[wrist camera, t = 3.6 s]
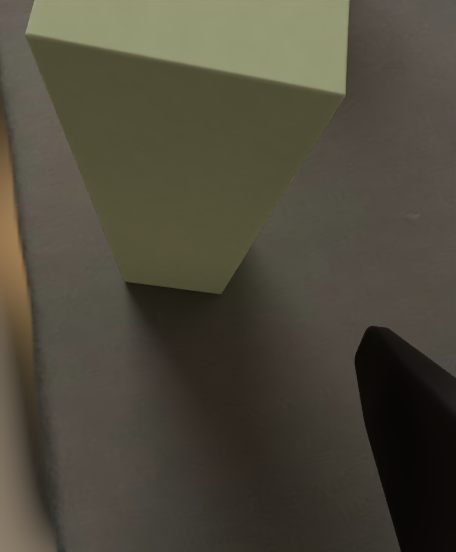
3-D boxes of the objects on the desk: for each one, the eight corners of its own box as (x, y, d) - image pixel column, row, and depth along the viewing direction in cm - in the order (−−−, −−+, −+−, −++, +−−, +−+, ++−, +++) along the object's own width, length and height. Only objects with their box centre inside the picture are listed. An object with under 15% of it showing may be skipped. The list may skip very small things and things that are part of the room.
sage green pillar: (221, 294, 22) (346, 96, 7) (123, 281, 22) (22, 34, 6) (231, 205, 24) (356, -129, 8) (139, 191, 23) (87, -197, 8)
